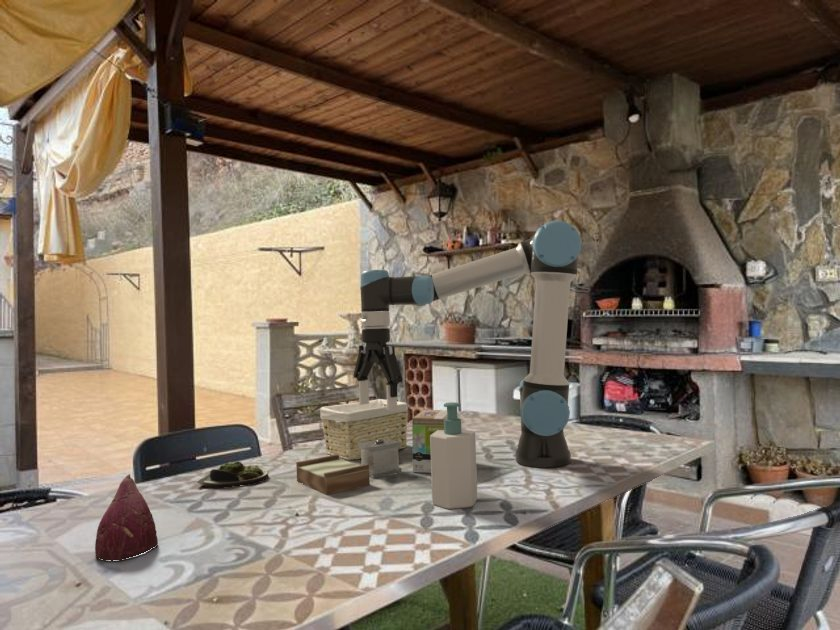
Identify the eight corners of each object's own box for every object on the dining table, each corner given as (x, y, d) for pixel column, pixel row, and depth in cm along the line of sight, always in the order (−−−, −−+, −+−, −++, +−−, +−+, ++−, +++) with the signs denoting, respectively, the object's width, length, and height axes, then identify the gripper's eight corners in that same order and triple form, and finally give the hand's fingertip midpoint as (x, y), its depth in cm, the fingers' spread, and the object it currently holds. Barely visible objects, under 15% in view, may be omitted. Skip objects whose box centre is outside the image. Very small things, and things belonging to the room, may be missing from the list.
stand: (369, 484, 149) (369, 464, 149) (326, 494, 142) (326, 473, 142) (337, 472, 162) (337, 454, 162) (296, 481, 155) (296, 462, 155)
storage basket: (346, 462, 173) (345, 412, 173) (319, 454, 186) (317, 406, 186) (411, 449, 189) (410, 402, 189) (381, 442, 201) (380, 398, 201)
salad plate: (197, 474, 167) (196, 458, 167) (263, 467, 173) (262, 451, 173) (196, 493, 148) (196, 474, 148) (270, 483, 155) (269, 465, 155)
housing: (401, 472, 161) (400, 439, 161) (373, 478, 155) (372, 444, 155) (386, 467, 166) (385, 436, 166) (359, 473, 161) (358, 440, 161)
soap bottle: (471, 494, 139) (468, 399, 139) (483, 506, 130) (480, 404, 130) (427, 498, 137) (424, 402, 137) (437, 511, 128) (434, 407, 128)
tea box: (449, 474, 158) (447, 417, 158) (412, 473, 160) (410, 417, 160) (457, 460, 172) (455, 408, 172) (423, 459, 174) (421, 408, 174)
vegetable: (111, 559, 115) (107, 480, 119) (166, 549, 116) (160, 470, 120) (84, 568, 105) (80, 481, 109) (144, 556, 106) (138, 470, 109)
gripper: (340, 328, 169) (342, 403, 169) (390, 328, 149) (392, 413, 149) (362, 327, 173) (364, 400, 173) (414, 327, 153) (416, 410, 153)
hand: (377, 406), depth 161 cm, fingers open, 13 cm apart
